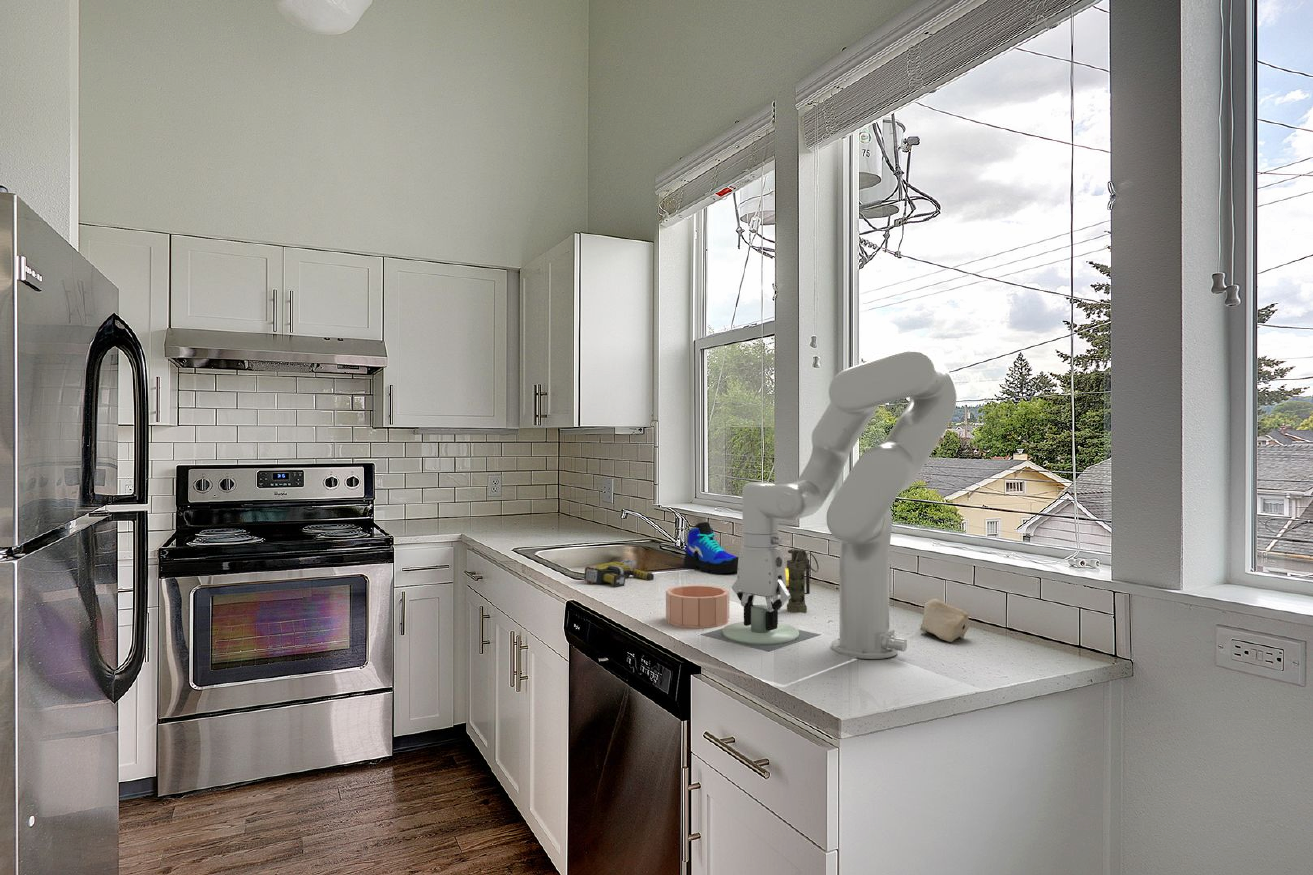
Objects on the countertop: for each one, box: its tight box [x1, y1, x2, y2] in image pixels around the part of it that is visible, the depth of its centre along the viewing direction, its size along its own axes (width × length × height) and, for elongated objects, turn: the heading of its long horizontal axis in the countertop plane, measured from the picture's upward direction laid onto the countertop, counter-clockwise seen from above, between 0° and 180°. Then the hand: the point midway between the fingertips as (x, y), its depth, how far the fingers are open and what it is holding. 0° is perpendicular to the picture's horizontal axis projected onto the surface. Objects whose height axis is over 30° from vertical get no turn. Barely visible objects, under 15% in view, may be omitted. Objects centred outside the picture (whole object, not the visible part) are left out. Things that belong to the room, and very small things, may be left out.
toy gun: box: [583, 559, 655, 587], centre depth 230 cm, size 5×24×15 cm
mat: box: [699, 627, 822, 652], centre depth 165 cm, size 18×18×1 cm
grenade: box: [786, 548, 819, 614], centre depth 187 cm, size 9×6×15 cm, turn 118°
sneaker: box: [683, 521, 739, 575], centre depth 245 cm, size 9×24×15 cm, turn 34°
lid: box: [723, 604, 799, 645], centre depth 164 cm, size 16×16×6 cm
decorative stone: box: [919, 598, 970, 643], centre depth 165 cm, size 7×13×7 cm, turn 23°
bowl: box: [665, 584, 730, 629], centre depth 177 cm, size 14×14×7 cm
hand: (760, 626), depth 165 cm, fingers open, 5 cm apart
